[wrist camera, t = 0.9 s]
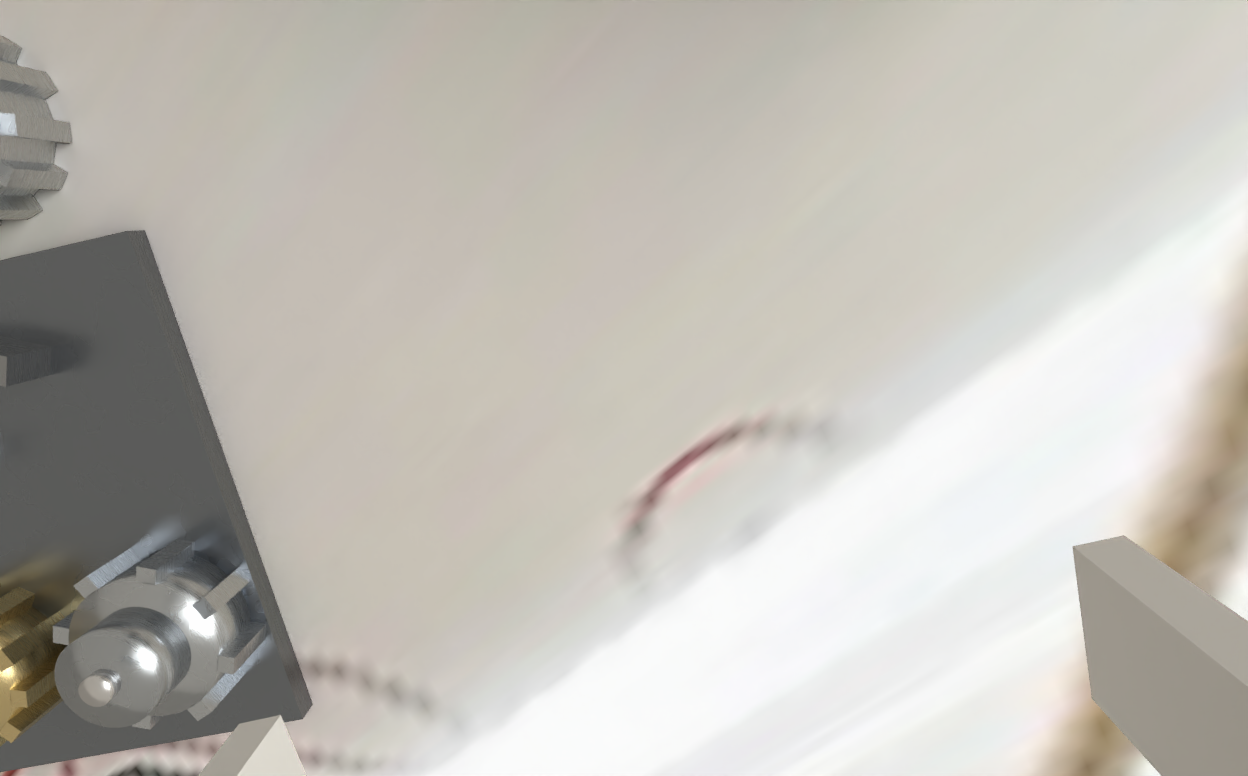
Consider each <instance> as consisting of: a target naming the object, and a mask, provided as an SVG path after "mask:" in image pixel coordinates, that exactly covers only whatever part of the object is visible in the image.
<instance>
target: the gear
mask: <svg viewBox="0 0 1248 776" xmlns="http://www.w3.org/2000/svg"><path fill="white" fill-rule="evenodd" d="M20 51H21V47H19V46H18V45H16V44H15V43H13V42H11V41H10V40H8V39H7V38H5V37H3V36H0V219H29V218H31V217H33V216H34V215H36V214H38V213H39V212H41V211H43V210H42V208H41V207H40V205H39V204H38V202H37V201H36V199H35V198H34V196H33V195H34V194H35V193H36V192H37V191H38V190H39V189H53V190H61V188H62V186H63V183H64V181H65V179H66V176H67V174H68V173H67V172H66V171H64V170H62V169H61V168H59V167H57V166H56V165H54V164H53V163H54V155H55V147H56V142H57V143H72V139H71V131H70V123H69V122H63V121H57V120H53V119H52V116H51V114H50V111H49V108H48V105H47V103H46V100H45V99H46V98H48V97H50V96H51V95H53V94H54V93H56V92H57V91H58V90H57V89H56V87H55V86H54V84H53V82H52V81H51V79H50V78H49V76H48V75H47V73H46V72H43V71H38V70H34V69H30V68H26V67H22V66H18V65H17V64H16V61H17V58H18V56H19V53H20ZM0 226H1V221H0Z"/></svg>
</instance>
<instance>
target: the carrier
mask: <svg viewBox="0 0 1248 776" xmlns="http://www.w3.org/2000/svg"><path fill="white" fill-rule="evenodd" d="M312 705H313V704H312V702H311V699H310V696H309V693H308V690H307V687H306V685H305V682H304V679H303V676H302V673H301V670H300V668H299V665H298V662H297V659H296V656H295V654H294V651H293V648H292V645H291V642H290V639H289V637H288V634H287V631H286V628H285V625H284V622H283V620H282V617H281V614H280V611H279V608H278V606H277V603H276V600H275V597H274V594H273V591H272V589H271V586H270V583H269V580H268V577H267V575H266V572H265V569H264V566H263V563H262V560H261V558H260V555H259V552H258V549H257V546H256V543H255V541H254V538H253V535H252V532H251V529H250V527H249V524H248V521H247V518H246V515H245V512H244V510H243V507H242V504H241V501H240V498H239V495H238V493H237V490H236V487H235V484H234V481H233V479H232V476H231V473H230V470H229V467H228V464H227V462H226V459H225V456H224V453H223V450H222V448H221V445H220V442H219V439H218V436H217V433H216V431H215V428H214V425H213V422H212V419H211V416H210V414H209V411H208V408H207V405H206V402H205V400H204V397H203V394H202V391H201V388H200V385H199V383H198V380H197V377H196V374H195V371H194V368H193V366H192V363H191V360H190V357H189V354H188V352H187V349H186V346H185V343H184V340H183V337H182V335H181V332H180V329H179V326H178V323H177V320H176V318H175V315H174V312H173V309H172V306H171V304H170V301H169V298H168V295H167V292H166V289H165V287H164V284H163V281H162V278H161V275H160V273H159V270H158V267H157V264H156V261H155V258H154V256H153V253H152V250H151V247H150V244H149V241H148V239H147V236H146V233H145V231H125V232H121V233H117V234H112V235H108V236H104V237H100V238H95V239H91V240H87V241H83V242H78V243H74V244H70V245H66V246H61V247H57V248H53V249H48V250H44V251H40V252H36V253H31V254H27V255H23V256H19V257H14V258H10V259H6V260H2V261H0V772H3V771H9V770H15V769H20V768H26V767H32V766H38V765H43V764H49V763H55V762H60V761H66V760H72V759H77V758H83V757H89V756H95V755H100V754H106V753H112V752H117V751H123V750H129V749H135V748H140V747H146V746H152V745H157V744H163V743H169V742H175V741H180V740H186V739H192V738H197V737H203V736H209V735H214V734H220V733H226V732H232V731H234V730H235V728H236V727H237V726H238V725H239V724H240V723H245V722H250V721H254V720H259V719H264V718H269V717H273V716H278V715H281V717H282V719H283V721H284V722H289V721H294V720H300V719H303V718H304V716H305V715H306V713H307V712H308V710H309V709H310V707H311V706H312Z"/></svg>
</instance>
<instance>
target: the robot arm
mask: <svg viewBox="0 0 1248 776" xmlns="http://www.w3.org/2000/svg"><path fill="white" fill-rule="evenodd" d="M1073 554H1074V562H1075V569H1076V577H1077V585H1078V593H1079V601H1080V609H1081V617H1082V625H1083V632H1084V640H1085V648H1086V656H1087V664H1088V672H1089V680H1090V688H1091V695H1092V699H1093V700H1094V701H1095V703H1096V704H1097V705H1098V706H1099V707H1100V708H1101V709H1102V710H1103V711H1104V712H1105V714H1106V715H1107V716H1108V717H1109V718H1110V719H1111V720H1112V721H1113V722H1114V724H1115V725H1116V726H1117V727H1118V728H1119V729H1120V730H1121V731H1122V732H1123V734H1124V735H1125V736H1126V737H1127V738H1128V739H1129V740H1130V741H1131V742H1132V744H1133V745H1134V746H1135V747H1136V748H1137V749H1138V750H1139V751H1140V752H1141V753H1142V755H1143V756H1144V757H1145V758H1146V759H1147V760H1148V761H1149V762H1150V763H1151V765H1152V766H1153V767H1154V768H1155V769H1156V770H1157V771H1158V772H1159V773H1160V775H1161V776H1248V621H1247V620H1245V619H1244V618H1242V617H1241V616H1239V615H1238V614H1237V613H1235V612H1234V611H1232V610H1231V609H1229V608H1228V607H1226V606H1225V605H1224V604H1222V603H1221V602H1219V601H1218V600H1216V599H1215V598H1213V597H1212V596H1211V595H1209V594H1208V593H1206V592H1205V591H1203V590H1202V589H1200V588H1199V587H1198V586H1196V585H1195V584H1193V583H1192V582H1190V581H1189V580H1187V579H1186V578H1185V577H1183V576H1182V575H1180V574H1179V573H1177V572H1176V571H1174V570H1173V569H1172V568H1170V567H1169V566H1167V565H1166V564H1164V563H1163V562H1161V561H1160V560H1159V559H1157V558H1156V557H1154V556H1153V555H1151V554H1150V553H1148V552H1147V551H1146V550H1144V549H1143V548H1141V547H1140V546H1138V545H1137V544H1135V543H1134V542H1133V541H1131V540H1130V539H1128V538H1127V537H1125V536H1120V537H1115V538H1110V539H1105V540H1101V541H1096V542H1091V543H1087V544H1082V545H1077V546H1073ZM198 776H306V773H305V771H304V769H303V766H302V764H301V761H300V759H299V757H298V754H297V752H296V750H295V747H294V745H293V743H292V740H291V738H290V736H289V733H288V731H287V728H286V726H285V724H284V721H283V719H282V717H281V715H278V716H273V717H269V718H264V719H259V720H254V721H250V722H245V723H240V724H239V725H238V726H237V727H236V728H235V730H234V731H233V732H232V733H231V735H230V736H229V737H228V739H227V740H226V741H225V742H224V744H223V745H222V746H221V747H220V749H219V750H218V751H217V752H216V754H215V755H214V756H213V758H212V759H211V760H210V761H209V763H208V764H207V765H206V766H205V768H204V769H203V770H202V772H201V773H200V774H199V775H198Z"/></svg>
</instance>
